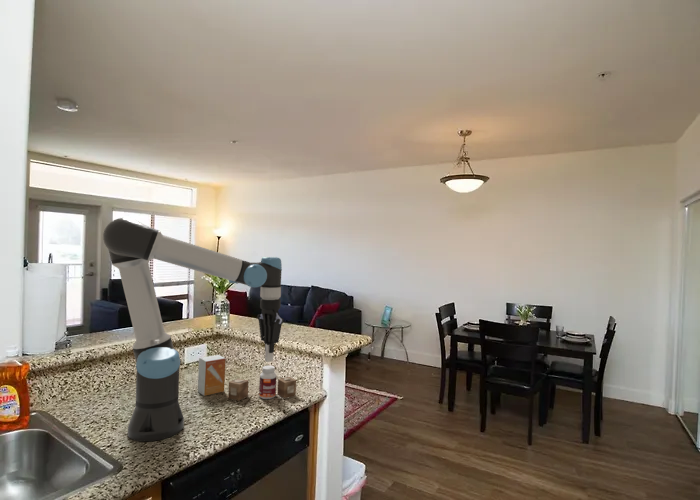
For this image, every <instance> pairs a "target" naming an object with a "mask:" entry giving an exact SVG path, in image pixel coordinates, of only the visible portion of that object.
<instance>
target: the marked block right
mask: <svg viewBox="0 0 700 500" xmlns="http://www.w3.org/2000/svg"><path fill="white" fill-rule="evenodd" d="M277 395H278V396H279V397H280V398H282V397H283V398H282V399H284V398H285V399H289V398H293V397H296V396H297V379H296V378H295V379H294V378H293V377H291V376H286V377H281V378H278V379H277ZM288 397H289V398H288Z"/></svg>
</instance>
